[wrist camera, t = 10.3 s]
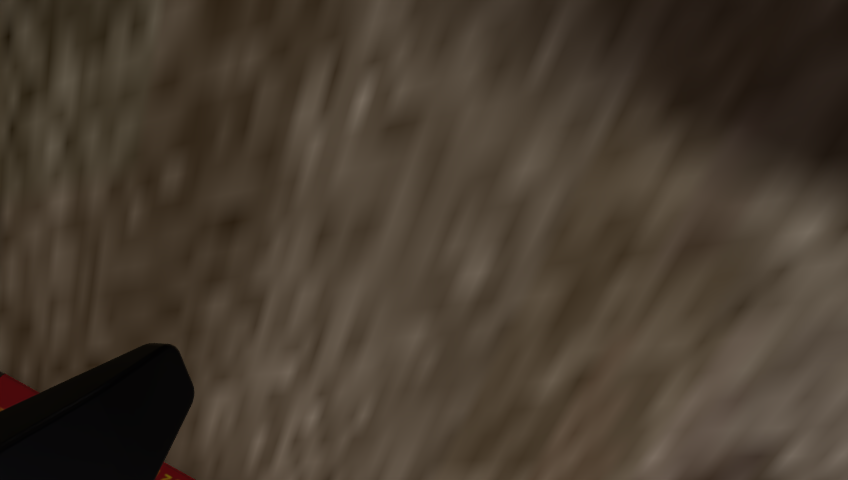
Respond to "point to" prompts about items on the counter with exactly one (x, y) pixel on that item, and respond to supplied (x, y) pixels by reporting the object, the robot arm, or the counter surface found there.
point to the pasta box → (11, 392)
